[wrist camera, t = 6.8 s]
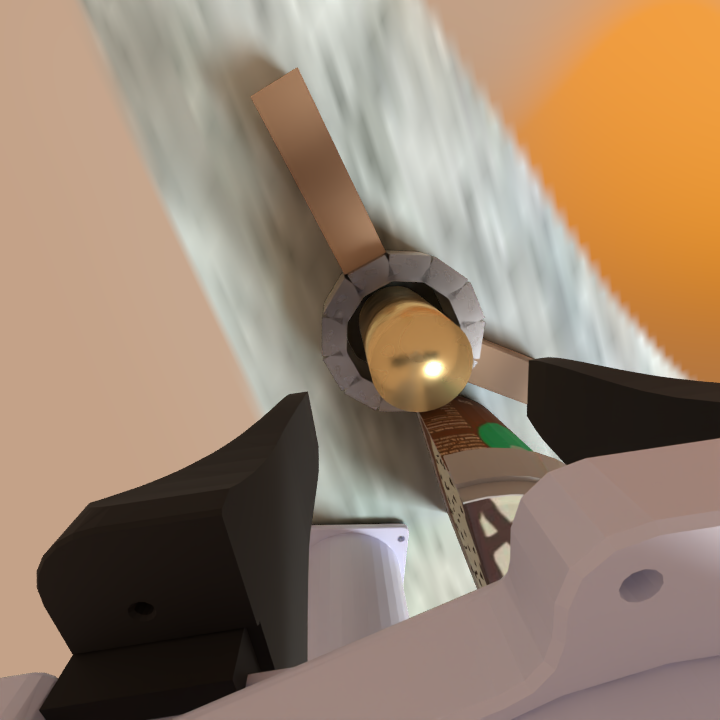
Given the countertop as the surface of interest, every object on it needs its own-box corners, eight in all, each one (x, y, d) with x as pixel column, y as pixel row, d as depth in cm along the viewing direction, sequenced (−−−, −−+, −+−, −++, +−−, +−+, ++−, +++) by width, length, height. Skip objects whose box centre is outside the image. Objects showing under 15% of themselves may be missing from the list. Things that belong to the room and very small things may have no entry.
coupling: (529, 391, 23) (557, 414, 20) (272, 388, 22) (262, 412, 19) (591, 108, 18) (639, 85, 15) (259, 83, 17) (243, 54, 14)
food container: (536, 503, 26) (651, 660, 16) (452, 529, 26) (518, 698, 17) (505, 345, 22) (636, 435, 12) (405, 378, 22) (459, 490, 13)
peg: (434, 288, 20) (482, 318, 14) (423, 357, 22) (463, 414, 15) (362, 283, 20) (375, 311, 13) (356, 353, 21) (365, 410, 15)
